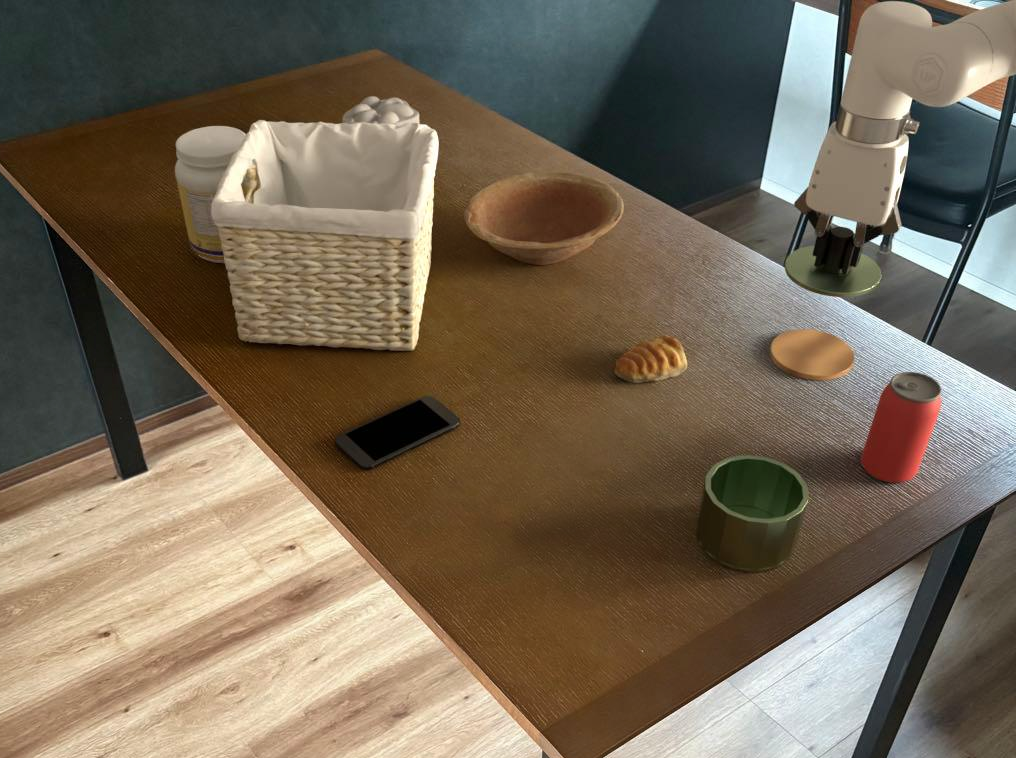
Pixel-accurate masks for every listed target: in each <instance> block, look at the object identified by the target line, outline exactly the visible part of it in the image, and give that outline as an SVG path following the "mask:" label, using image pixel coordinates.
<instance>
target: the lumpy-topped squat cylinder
mask: <svg viewBox="0 0 1016 758" xmlns="http://www.w3.org/2000/svg"><path fill="white" fill-rule="evenodd" d="M360 122H366V123H373V124H381V123H384V124H393V125H396V126H399V127H400V126H402V125H403V124H406V123H419V124H421V123H420V113H419V111H418V110H416V109H415V108H413V107H412V106H410V105H409V103H408V101H406V100H404V99H400V98H399V97H396V96H395V97H393V96H392V97H389V98H386V99H380V98H379V97H378V96H375V95H371V96H367V97H365V98H364V99H363V100H362V101H361V102H360V103H359V104H355V106H353V107H352V108H350V109H349V110H347V111H346V112H345V113H344V114H343V116H342V119H341V123H347V124H353V123H360Z"/></svg>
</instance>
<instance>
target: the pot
mask: <svg viewBox="0 0 1016 758" xmlns="http://www.w3.org/2000/svg"><path fill="white" fill-rule="evenodd" d="M809 500H810V499H809V486H808V484H807V483H806V482H805V481H804V479H803V478H802V476H801V475H800V473H799V472H798V471H795V469H793V468H791V467H790V466H788V465H787V464H786V463H783V462H781V461H778V460H775V459H772V458H770V457H767V456H761V455H760V456H759V455H751V454H743V455H736V456H731V457H730V456H729V457H726V458H724V459H723V460H720V461H719V462H717V463H715V464H713V465H712V466H711V468H710V469H709V471H708V472H707V473H706V475H705V477H704V483H703V487H702V493H701V499H700V503H699V508H698V513H697V519H696V529H695V538H696V541H697V543H698V546H699V548H700V549H701V550H702V552H703V553H704V554H705V555H706V556H707V557H708V558H709V559H711V560H712V561H714V562H715V563H717V564H718V565H721V566H722V567H725V568H727V569H730V570H733V571H737V572H744V573H764V572H768V571H769V572H770V571H773V570H776V569H777V568H779V567H781V566H783V565H784V564H786V563H787V561H788V560H790V558H791V557H792V555H793V553H794V550H795V548H796V546H797V543H798V539H799V536H800V531H801V528H802V524H803V521H804V519H805V518H804V517H805V514H806V511H807V508H808V503H809Z"/></svg>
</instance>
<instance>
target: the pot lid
mask: <svg viewBox="0 0 1016 758" xmlns="http://www.w3.org/2000/svg"><path fill="white" fill-rule="evenodd" d="M832 228H833V229H831V232H830V236H829V240H828V244H827V248H826V252H825V256H824V260H823V264H822V265H821V266H819V267H816V266H814V264H815V260H816V256H813V250H814V246H815V244H813V245H807V246H803V247H800V248H797V249H796V250H794V251H792V252H790V254H789V255H788V256H787V258H786V260H785V262H784V271H785V273H786V276H787V277H788V279H789V280H791V281H792V282H793V283H794V284H795V285H797V286H798V287H800V288H802V289H804V290H806V291H808V292H811V293H813V294H817V295H822V296H826V297H833V298H853V297H859V296H864V295H866V294H869V293H870V292H872V291H874V290H875V289H877V288H878V286H879V285H880V283H881V279H882V270H881V268H880V267H879V265H878V264H877V262H875V261H874V260H873V259H872V258H871V257H869V256H867V255H866V254H864V253H862V254H861V257H860V261H859V263H858V265H857V267H852V268H851V269H850V271H849V272H848V274H847V275H844V274H842V273H841V271H842V267H843V263H844V259H845V255H846V252H847V248H848V245H849V244H850V243H851V242H852V239H853V238H854V236H855V231H854V230H853V229H851V228H849V227H845V226H835V227H832Z"/></svg>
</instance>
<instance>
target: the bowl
mask: <svg viewBox="0 0 1016 758" xmlns="http://www.w3.org/2000/svg"><path fill="white" fill-rule="evenodd" d="M624 209H625V204H624V201H623V199H622V196H621V194H620V193H619V192H618V191H617V190H616V189H615V188H613V187H612V186H611V185H609V184H608V183H606V182H605V181H602V180H600V179H597V178H595V177H591V176H589V175H586V174H580V173H575V172H569V171H568V172H566V171H531V172H522V173H519V174H516V175H515V174H514V175H512V176H508V177H503V178H501V179H499V180H496V181H493V182H491V183H490V184H489V183H488V184H487V185H485V186H484V187H482V188H481V189H479V190H477V192H476V193H474V195H473V196H471V198H470V199H469V201H468V203H467V205H466V206H465V209H464V213H463V216H464V221H465V224H466V225H467V227H468V229H469V230H470V231H471V232H472V233H473V234H474V235H475V236H476V237H477V238H479V239H481V240H482V241H483V242H487V243H488V245H490V247H492V248H493V249H495V250H496V251H498V252H500V253H502V254H503V255H506V256H508V257H511V258H512V259H515V260H516V261H519V262H521V263H525V264H529V265H534V266H545V265H546V266H547V265H552V264H556V263H559V262H561V261H564V260H566V259H568V258H570V257H572V256H575V255H578V254H579V253H581V252H583V251H584V250H587V249H588V248H590V247H591V246H592V245H593V244H594V242H595V241H596V240H597V239H599V238H600V237H602V236H603V235H606V234H607V233H609V232H610V231H611V230H612V229H613V228H614V227H615V226H616V225H617V224H618V222H620V220H621V219H622V216H623V214H624V211H625V210H624Z"/></svg>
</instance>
